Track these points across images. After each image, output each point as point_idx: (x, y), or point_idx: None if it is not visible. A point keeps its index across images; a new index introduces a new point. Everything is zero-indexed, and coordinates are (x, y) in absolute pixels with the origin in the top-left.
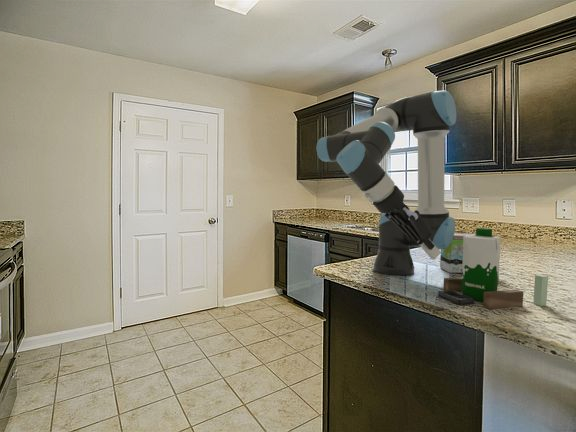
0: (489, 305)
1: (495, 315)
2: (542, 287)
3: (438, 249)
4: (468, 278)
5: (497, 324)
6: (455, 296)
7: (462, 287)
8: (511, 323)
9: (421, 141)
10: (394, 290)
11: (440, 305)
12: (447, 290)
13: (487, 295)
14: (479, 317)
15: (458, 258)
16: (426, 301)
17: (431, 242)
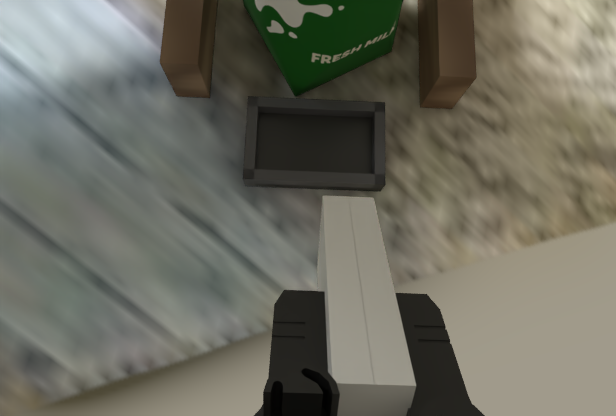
0: (456, 101)
1: (515, 145)
2: None
3: (377, 219)
4: (336, 40)
5: (598, 220)
6: (296, 129)
7: (289, 66)
8: (597, 160)
9: None
10: (81, 343)
11: None
12: (205, 93)
13: (457, 81)
14: (524, 225)
15: None
16: None
17: (451, 351)
